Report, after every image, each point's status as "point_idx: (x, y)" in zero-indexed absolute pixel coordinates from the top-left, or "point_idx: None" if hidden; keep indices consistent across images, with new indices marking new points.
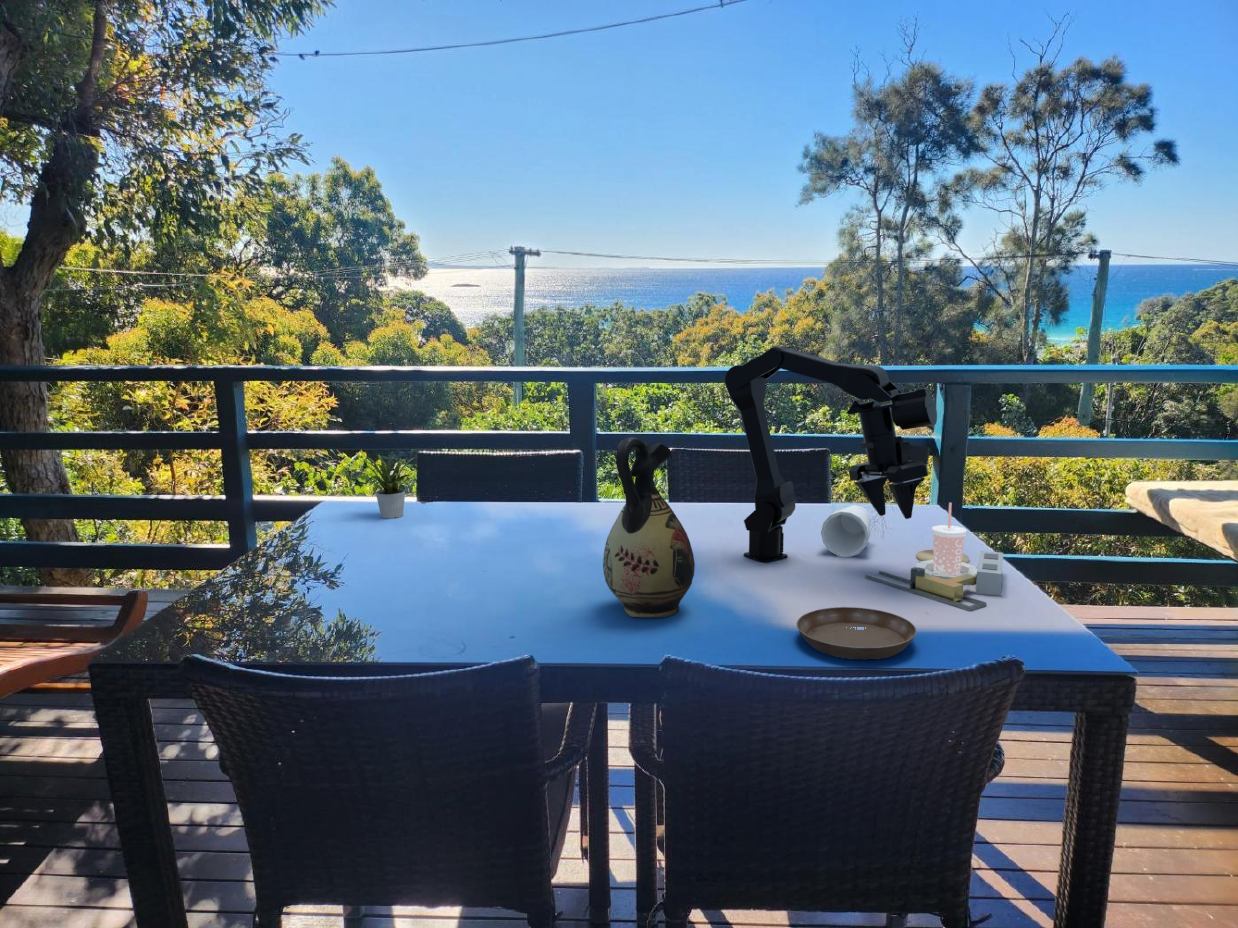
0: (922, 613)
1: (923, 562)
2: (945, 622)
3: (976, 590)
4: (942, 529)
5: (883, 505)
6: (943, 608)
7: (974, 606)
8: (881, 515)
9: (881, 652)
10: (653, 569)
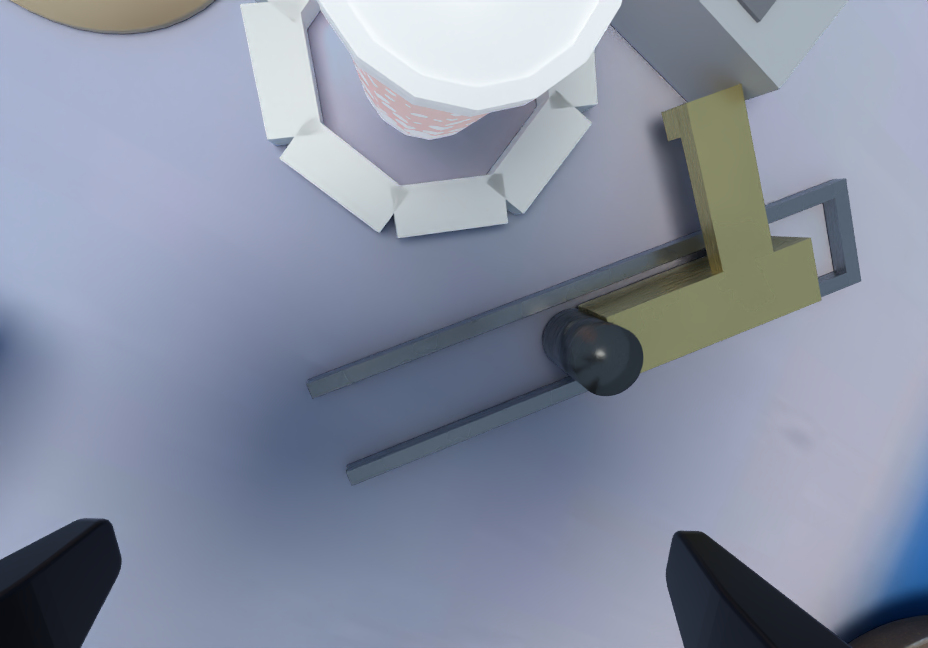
0: (797, 454)
1: (290, 123)
2: (889, 423)
3: None
4: None
5: (11, 618)
6: (787, 356)
7: (855, 254)
8: (119, 558)
9: None
10: None
